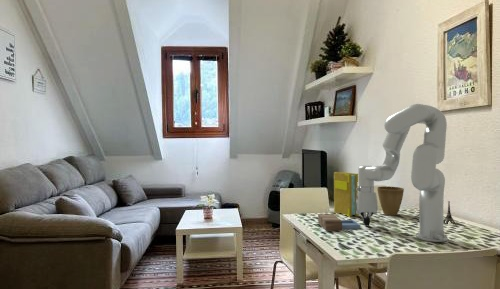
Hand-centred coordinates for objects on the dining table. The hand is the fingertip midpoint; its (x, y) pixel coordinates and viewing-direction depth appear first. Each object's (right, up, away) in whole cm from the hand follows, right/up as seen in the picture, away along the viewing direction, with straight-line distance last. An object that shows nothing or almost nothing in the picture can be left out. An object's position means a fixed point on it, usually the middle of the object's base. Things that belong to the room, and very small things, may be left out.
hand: (366, 225), depth 173 cm
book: (-3, -1, +31) cm, 31 cm away
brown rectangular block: (-19, -1, 0) cm, 19 cm away
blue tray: (-13, -1, 0) cm, 13 cm away
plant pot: (+24, -1, +29) cm, 38 cm away
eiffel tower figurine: (+46, -1, +5) cm, 46 cm away
